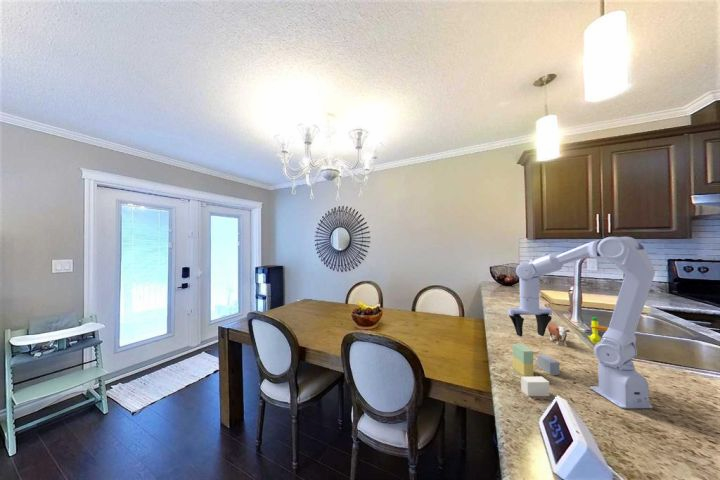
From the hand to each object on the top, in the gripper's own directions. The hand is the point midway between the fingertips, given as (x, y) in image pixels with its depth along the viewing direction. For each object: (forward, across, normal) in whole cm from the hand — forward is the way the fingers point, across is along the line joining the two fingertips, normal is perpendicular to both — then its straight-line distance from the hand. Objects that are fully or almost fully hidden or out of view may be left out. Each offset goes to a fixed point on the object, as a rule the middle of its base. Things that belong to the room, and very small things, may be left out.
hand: (530, 335), depth 91 cm
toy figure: (+10, -35, -12) cm, 38 cm away
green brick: (+6, +6, +6) cm, 10 cm away
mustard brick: (+10, +6, +6) cm, 13 cm away
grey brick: (+10, -3, +5) cm, 11 cm away
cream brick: (+10, +10, +18) cm, 23 cm away
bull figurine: (+10, -23, -17) cm, 30 cm away
